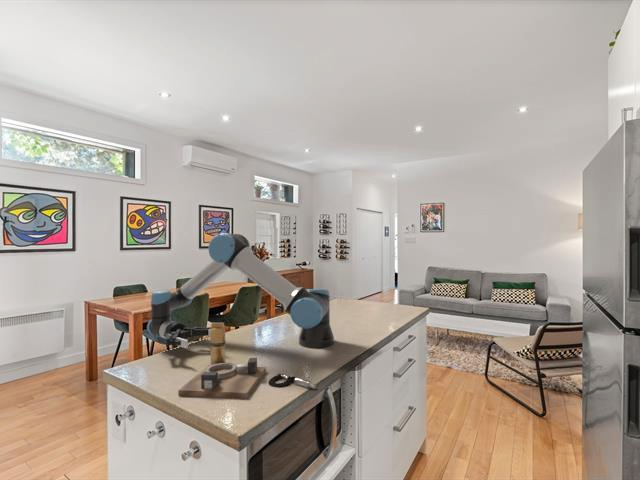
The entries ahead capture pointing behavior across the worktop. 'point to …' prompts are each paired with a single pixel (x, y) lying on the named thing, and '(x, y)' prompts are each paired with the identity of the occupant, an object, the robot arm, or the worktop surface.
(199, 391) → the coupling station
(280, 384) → the micrometer
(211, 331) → the coupling
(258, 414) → the worktop surface
